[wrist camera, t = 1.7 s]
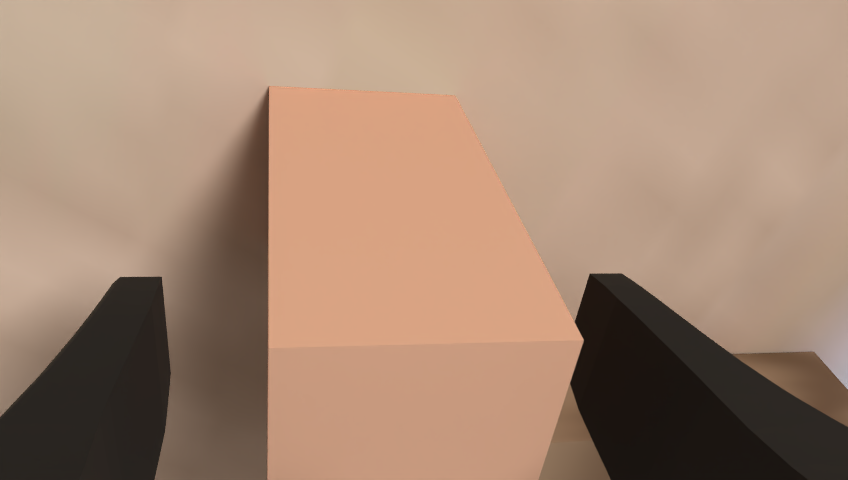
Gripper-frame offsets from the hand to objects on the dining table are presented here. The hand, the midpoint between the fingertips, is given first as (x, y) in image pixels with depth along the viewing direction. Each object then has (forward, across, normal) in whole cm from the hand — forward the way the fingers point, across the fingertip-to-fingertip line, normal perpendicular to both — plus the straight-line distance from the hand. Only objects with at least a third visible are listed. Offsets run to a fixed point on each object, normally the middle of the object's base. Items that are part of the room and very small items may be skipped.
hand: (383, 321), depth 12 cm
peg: (+5, 0, 0) cm, 5 cm away
